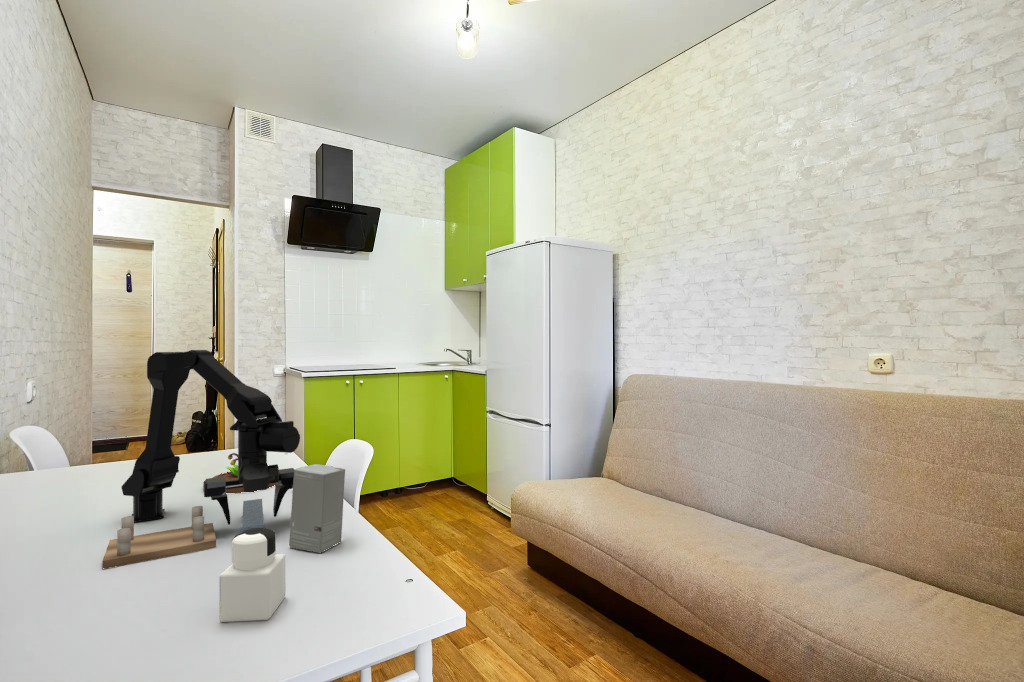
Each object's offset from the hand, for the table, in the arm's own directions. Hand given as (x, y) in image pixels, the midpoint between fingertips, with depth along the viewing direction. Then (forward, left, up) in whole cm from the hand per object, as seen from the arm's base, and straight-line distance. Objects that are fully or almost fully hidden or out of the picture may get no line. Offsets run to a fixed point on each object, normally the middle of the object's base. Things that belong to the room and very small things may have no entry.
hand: (252, 520), depth 113 cm
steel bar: (0, 0, -2) cm, 2 cm away
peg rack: (+2, -17, -2) cm, 17 cm away
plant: (-41, +3, -2) cm, 42 cm away
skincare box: (+18, +10, -2) cm, 21 cm away
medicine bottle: (+39, -4, -2) cm, 39 cm away
